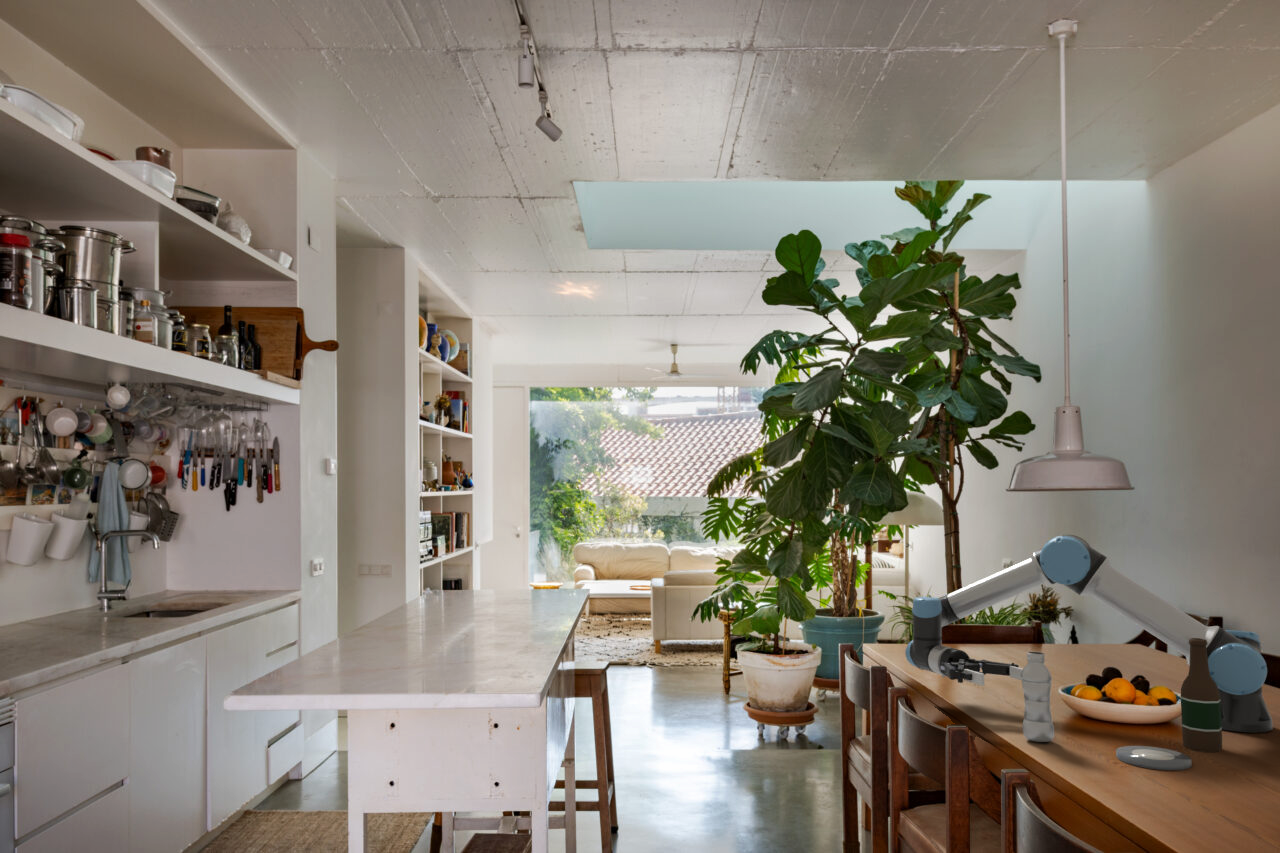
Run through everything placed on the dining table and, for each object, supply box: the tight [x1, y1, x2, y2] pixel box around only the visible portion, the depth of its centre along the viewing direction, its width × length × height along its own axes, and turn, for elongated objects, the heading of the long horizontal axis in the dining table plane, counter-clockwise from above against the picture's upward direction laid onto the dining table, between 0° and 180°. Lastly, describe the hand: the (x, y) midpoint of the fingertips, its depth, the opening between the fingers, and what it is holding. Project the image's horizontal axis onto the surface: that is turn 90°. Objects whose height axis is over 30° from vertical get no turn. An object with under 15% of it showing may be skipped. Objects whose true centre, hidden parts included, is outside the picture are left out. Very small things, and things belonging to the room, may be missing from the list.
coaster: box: [1115, 745, 1193, 771], centre depth 196 cm, size 14×14×1 cm
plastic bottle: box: [1021, 651, 1055, 743], centre depth 212 cm, size 6×7×20 cm
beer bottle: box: [1180, 638, 1223, 753], centre depth 207 cm, size 8×8×24 cm
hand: (1006, 678), depth 221 cm, fingers open, 13 cm apart
